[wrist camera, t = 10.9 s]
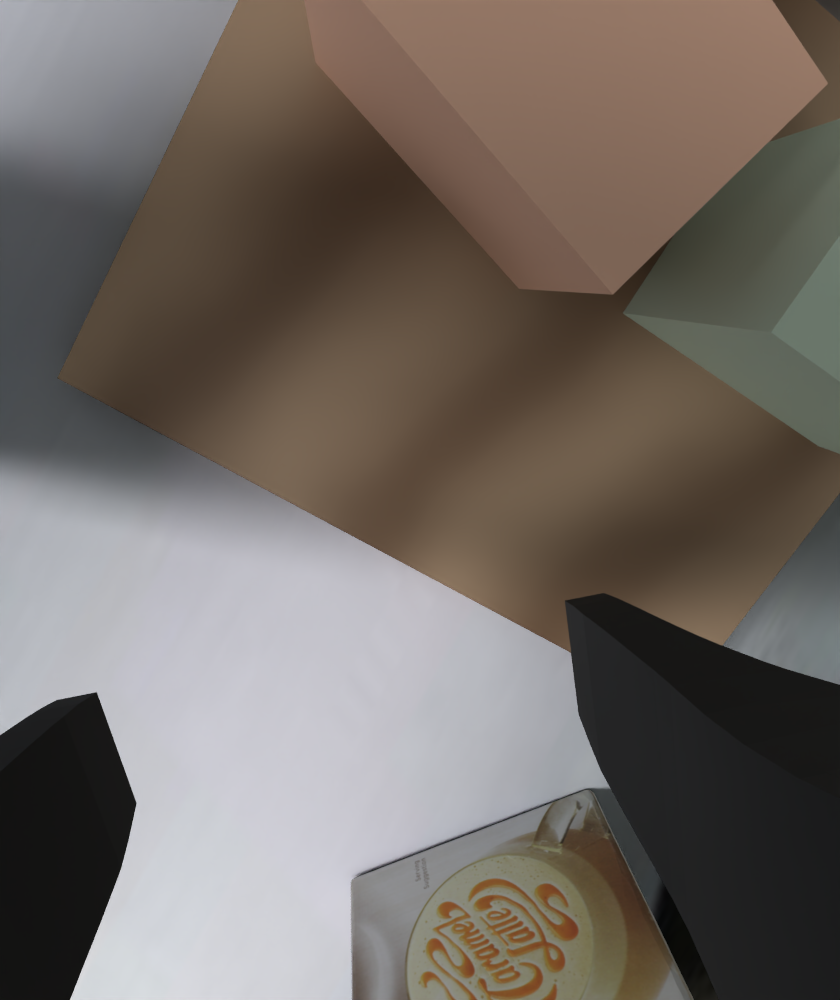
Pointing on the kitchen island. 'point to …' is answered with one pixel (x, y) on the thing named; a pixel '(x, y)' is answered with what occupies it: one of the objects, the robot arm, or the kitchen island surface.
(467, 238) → the shelf board
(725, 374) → the sage box
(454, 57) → the terracotta box
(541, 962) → the coffee box
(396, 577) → the kitchen island surface
